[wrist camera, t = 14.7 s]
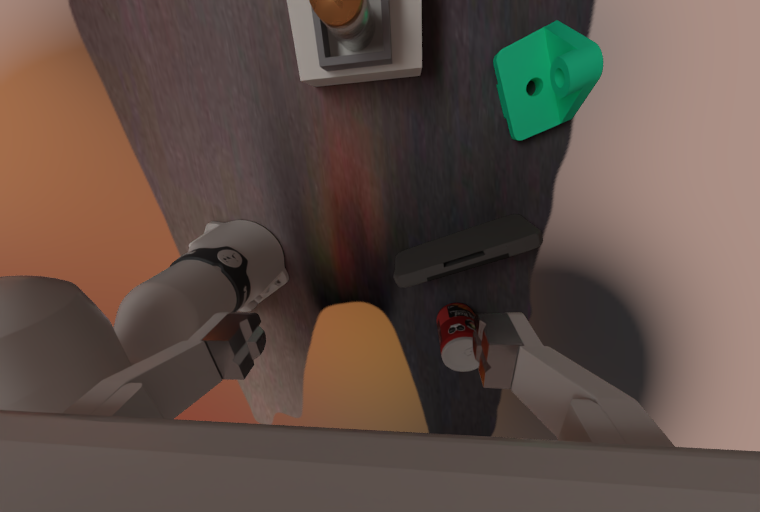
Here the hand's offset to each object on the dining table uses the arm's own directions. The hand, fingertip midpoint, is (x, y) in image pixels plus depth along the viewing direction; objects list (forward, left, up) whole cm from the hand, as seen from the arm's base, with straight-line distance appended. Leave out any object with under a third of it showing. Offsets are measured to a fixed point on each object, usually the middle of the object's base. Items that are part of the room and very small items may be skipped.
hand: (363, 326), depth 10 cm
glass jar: (+10, +16, -33) cm, 38 cm away
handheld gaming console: (-2, -16, -40) cm, 43 cm away
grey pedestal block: (+10, +16, -39) cm, 43 cm away
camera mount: (+21, -6, -40) cm, 45 cm away
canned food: (-14, -29, -39) cm, 51 cm away
